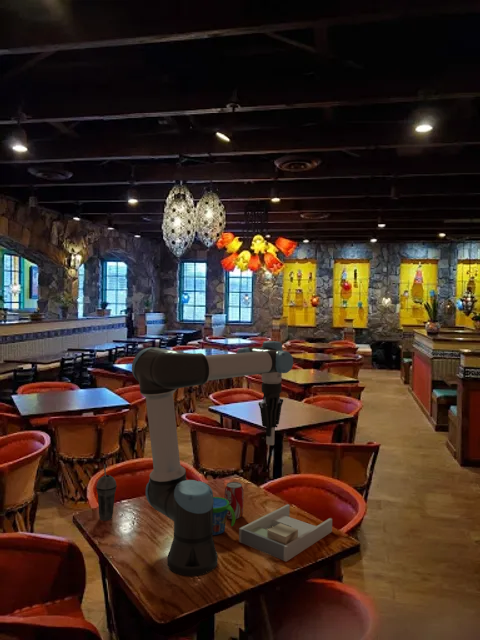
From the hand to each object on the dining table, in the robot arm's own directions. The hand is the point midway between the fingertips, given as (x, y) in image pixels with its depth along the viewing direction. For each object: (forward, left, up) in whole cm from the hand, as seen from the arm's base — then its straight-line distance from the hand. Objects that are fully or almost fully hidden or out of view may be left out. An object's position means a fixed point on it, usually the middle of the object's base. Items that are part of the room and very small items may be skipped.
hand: (270, 444), depth 186 cm
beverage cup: (-44, +41, -27) cm, 66 cm away
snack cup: (-25, +5, -27) cm, 37 cm away
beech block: (-20, -20, -24) cm, 37 cm away
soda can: (-11, +8, -27) cm, 30 cm away
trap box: (-11, -16, -26) cm, 33 cm away
